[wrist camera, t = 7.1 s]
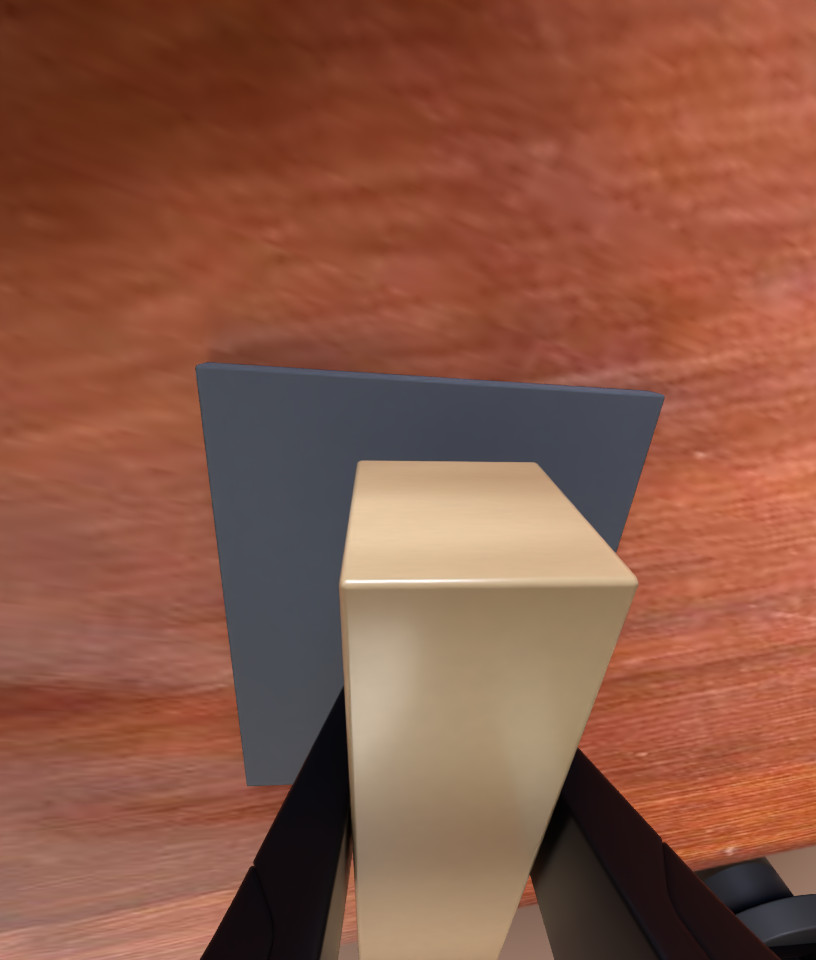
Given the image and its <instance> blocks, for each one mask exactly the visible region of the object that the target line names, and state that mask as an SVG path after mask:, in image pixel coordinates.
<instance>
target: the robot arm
mask: <svg viewBox="0 0 816 960" xmlns="http://www.w3.org/2000/svg"><path fill="white" fill-rule="evenodd" d="M352 852H353V842H352V823H351V805H350V786H349V768H348V749H347V730H346V712H345V693H344V686H343V687H342V689H341V691H340V693H339V695H338V697H337V699H336V701H335V703H334V705H333V707H332V709H331V711H330V713H329V714H328V716H327V718H326V720H325V722H324V724H323V726H322V728H321V730H320V732H319V734H318V736H317V738H316V740H315V742H314V744H313V746H312V748H311V750H310V752H309V754H308V756H307V757H306V759H305V761H304V763H303V765H302V767H301V769H300V771H299V773H298V775H297V777H296V779H295V781H294V783H293V785H292V787H291V789H290V791H289V793H288V795H287V797H286V798H285V800H284V802H283V804H282V806H281V808H280V810H279V812H278V814H277V816H276V818H275V820H274V822H273V824H272V826H271V828H270V830H269V832H268V834H267V836H266V838H265V839H264V841H263V843H262V845H261V847H260V849H259V851H258V853H257V855H256V857H255V859H254V861H253V864H254V866H251V867H250V868H249V870H248V872H247V874H246V876H245V878H244V880H243V882H242V884H241V886H240V888H239V890H238V892H237V894H236V896H235V897H234V899H233V901H232V903H231V905H230V907H229V908H228V910H227V912H226V914H225V916H224V918H223V920H222V921H221V923H220V925H219V927H218V929H217V931H216V933H215V934H214V936H213V938H212V940H211V941H210V943H209V945H208V947H207V948H206V950H205V952H204V953H203V955H202V957H201V958H200V960H338V954H339V948H340V940H341V933H342V926H343V918H344V911H345V903H346V896H347V889H348V881H349V874H350V866H351V859H352ZM530 876H531V880H532V883H533V887H534V890H535V894H536V897H537V901H538V904H539V907H540V911H541V914H542V918H543V921H544V925H545V928H546V931H547V935H548V939H549V942H550V946H551V949H552V953H553V956H554V960H816V943H807V944H796V945H785V946H774V947H767V946H766V945H765V944H764V943H763V942H762V941H761V940H760V939H759V938H758V937H757V936H756V935H755V934H754V933H753V932H752V931H751V930H750V929H749V928H748V927H747V926H746V925H745V924H744V923H743V922H742V921H741V920H740V919H739V918H738V917H737V916H736V915H735V914H734V913H733V912H732V911H731V910H730V909H729V908H728V907H727V906H726V905H725V904H723V903H722V902H721V901H720V900H719V898H718V897H717V896H716V895H715V894H714V893H713V892H712V891H711V890H710V889H709V888H708V887H707V886H706V885H705V884H704V883H703V882H702V881H701V880H700V879H699V878H698V876H697V875H696V874H695V873H694V872H693V871H692V870H691V869H690V868H689V867H688V866H687V865H686V864H685V863H684V862H683V861H682V860H681V858H680V857H679V856H678V855H677V854H676V853H675V852H674V851H673V850H672V849H671V848H670V847H669V845H668V844H667V843H665V842H663V843H662V839H661V837H660V836H659V835H658V834H657V833H656V832H655V831H654V829H653V828H652V827H651V826H650V825H649V824H648V823H647V822H646V821H645V820H644V819H643V817H642V816H641V815H640V814H639V813H638V812H637V811H636V810H635V809H634V808H633V807H632V806H631V804H630V803H629V802H628V801H627V800H626V799H625V798H624V797H623V796H622V795H621V794H620V793H619V791H618V790H617V789H616V788H615V787H614V786H613V785H612V784H611V783H610V782H609V781H608V780H607V778H606V777H605V776H604V775H603V774H602V773H601V772H600V771H599V770H598V769H597V768H596V767H595V765H594V764H593V763H592V762H591V761H590V760H589V759H588V758H587V757H586V756H585V755H584V754H583V752H582V751H581V750H580V749H579V748H578V747H577V750H576V752H575V755H574V758H573V760H572V763H571V766H570V768H569V771H568V774H567V776H566V779H565V782H564V784H563V787H562V790H561V792H560V795H559V798H558V800H557V803H556V806H555V809H554V811H553V814H552V817H551V819H550V822H549V825H548V827H547V830H546V833H545V835H544V838H543V841H542V843H541V846H540V849H539V851H538V854H537V857H536V859H535V862H534V865H533V867H532V870H531V873H530Z"/></svg>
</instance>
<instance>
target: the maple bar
mask: <svg viewBox="0 0 816 960" xmlns="http://www.w3.org/2000/svg"><path fill="white" fill-rule="evenodd" d="M637 587H638V580H637V577H636V576H635V575H634V574H633V572H632V571H631V570H630V569H629V568H628V567H627V566H626V564H625V563H624V562H623V561H622V560H621V559H620V558H619V556H618V555H617V554H616V553H615V552H614V551H613V550H612V548H611V547H610V546H609V545H608V544H607V543H606V542H605V540H604V539H603V538H602V537H601V536H600V535H599V534H598V532H597V531H596V530H595V529H594V528H593V527H592V526H591V524H590V523H589V522H588V521H587V520H586V519H585V518H584V516H583V515H582V514H581V513H580V512H579V511H578V510H577V508H576V507H575V506H574V505H573V504H572V503H571V502H570V500H569V499H568V498H567V497H566V496H565V495H564V493H563V492H562V491H561V490H560V489H559V488H558V487H557V485H556V484H555V483H554V482H553V481H552V480H551V479H550V477H549V476H548V475H547V474H546V473H545V472H544V471H543V469H542V468H541V467H540V466H539V465H538V464H537V463H535V462H456V461H359V462H358V463H357V466H356V473H355V480H354V486H353V493H352V499H351V506H350V513H349V519H348V526H347V533H346V539H345V546H344V553H343V559H342V566H341V572H340V579H339V600H340V618H341V637H342V656H343V674H344V693H345V712H346V730H347V749H348V768H349V786H350V805H351V823H352V842H353V861H354V879H355V898H356V917H357V935H358V953H359V960H498V958H499V955H500V952H501V950H502V947H503V945H504V942H505V939H506V937H507V934H508V931H509V928H510V926H511V923H512V920H513V918H514V915H515V913H516V910H517V907H518V905H519V902H520V899H521V897H522V894H523V891H524V889H525V886H526V883H527V881H528V878H529V875H530V873H531V870H532V867H533V865H534V862H535V859H536V857H537V854H538V851H539V849H540V846H541V843H542V841H543V838H544V835H545V833H546V830H547V827H548V825H549V822H550V819H551V817H552V814H553V811H554V809H555V806H556V803H557V800H558V798H559V795H560V792H561V790H562V787H563V784H564V782H565V779H566V776H567V774H568V771H569V768H570V766H571V763H572V760H573V758H574V755H575V752H576V750H577V747H578V744H579V742H580V739H581V736H582V734H583V731H584V728H585V726H586V723H587V720H588V718H589V715H590V712H591V710H592V707H593V704H594V702H595V699H596V696H597V694H598V691H599V688H600V686H601V683H602V680H603V678H604V675H605V672H606V670H607V667H608V664H609V662H610V659H611V656H612V654H613V651H614V648H615V646H616V643H617V640H618V638H619V635H620V632H621V630H622V627H623V624H624V622H625V619H626V616H627V614H628V611H629V608H630V606H631V603H632V600H633V598H634V595H635V592H636V590H637Z"/></svg>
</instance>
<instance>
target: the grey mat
mask: <svg viewBox="0 0 816 960" xmlns="http://www.w3.org/2000/svg"><path fill="white" fill-rule="evenodd" d="M195 369H196V377H197V385H198V393H199V401H200V409H201V417H202V426H203V434H204V442H205V450H206V458H207V466H208V474H209V482H210V490H211V498H212V506H213V515H214V523H215V531H216V539H217V547H218V555H219V563H220V571H221V579H222V587H223V595H224V604H225V612H226V620H227V628H228V636H229V644H230V652H231V660H232V668H233V676H234V684H235V693H236V701H237V709H238V717H239V725H240V733H241V741H242V749H243V757H244V765H245V773H246V782H247V786H265V785H291V784H293V783H294V781H295V779H296V777H297V775H298V773H299V771H300V769H301V767H302V765H303V763H304V761H305V759H306V757H307V756H308V754H309V752H310V750H311V748H312V746H313V744H314V742H315V740H316V738H317V736H318V734H319V732H320V730H321V728H322V726H323V724H324V722H325V720H326V718H327V716H328V714H329V713H330V711H331V709H332V707H333V705H334V703H335V701H336V699H337V697H338V695H339V693H340V691H341V689H342V687H343V686H344V674H343V656H342V637H341V618H340V600H339V579H340V572H341V566H342V559H343V553H344V546H345V539H346V533H347V526H348V519H349V513H350V506H351V499H352V493H353V486H354V480H355V473H356V466H357V463H358V462H359V461H456V462H535V463H537V464H538V465H539V466H540V467H541V468H542V469H543V471H544V472H545V473H546V474H547V475H548V476H549V477H550V479H551V480H552V481H553V482H554V483H555V484H556V485H557V487H558V488H559V489H560V490H561V491H562V492H563V493H564V495H565V496H566V497H567V498H568V499H569V500H570V502H571V503H572V504H573V505H574V506H575V507H576V508H577V510H578V511H579V512H580V513H581V514H582V515H583V516H584V518H585V519H586V520H587V521H588V522H589V523H590V524H591V526H592V527H593V528H594V529H595V530H596V531H597V532H598V534H599V535H600V536H601V537H602V538H603V539H604V540H605V542H606V543H607V544H608V545H609V546H610V547H611V548H612V550H613V551H614V552H615V553H616V552H617V548H618V545H619V542H620V539H621V536H622V532H623V529H624V526H625V523H626V520H627V516H628V513H629V510H630V507H631V504H632V500H633V497H634V494H635V491H636V488H637V484H638V481H639V478H640V475H641V472H642V469H643V465H644V462H645V459H646V456H647V453H648V449H649V446H650V443H651V440H652V437H653V433H654V430H655V427H656V424H657V421H658V417H659V414H660V411H661V408H662V405H663V401H664V395H662V394H659V393H655V392H651V391H642V390H627V389H612V388H596V387H581V386H566V385H550V384H535V383H519V382H504V381H489V380H473V379H458V378H443V377H427V376H412V375H397V374H381V373H366V372H350V371H335V370H320V369H304V368H289V367H274V366H258V365H243V364H228V363H212V362H207V363H203V364H199V365H196V368H195Z"/></svg>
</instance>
